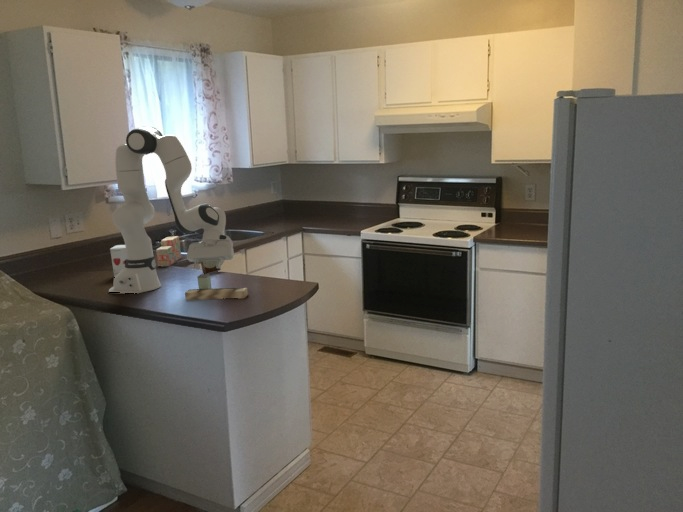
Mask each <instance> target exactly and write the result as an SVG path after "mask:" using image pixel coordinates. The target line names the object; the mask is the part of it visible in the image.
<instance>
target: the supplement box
mask: <svg viewBox="0 0 683 512" xmlns="http://www.w3.org/2000/svg"><path fill="white" fill-rule="evenodd" d="M109 251H110V256H111V264H112V270H113V271H112V272H113V278H114V277H115V276H116V275H117V274H118V273H119V272H120V271H121V270H123V269H124V268H125V264H123V261H125V260H126V259H127V253H126V247H125V244H117V245H116V244H115V245H114V246H113V247H111V248H109Z"/></svg>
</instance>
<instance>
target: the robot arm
mask: <svg viewBox="0 0 683 512" xmlns="http://www.w3.org/2000/svg"><path fill="white" fill-rule="evenodd" d="M125 142H126V143H124V144H120V145H118V146H117V148H116V150H115V159H114V160H115V173H116V183H117V189H118V191H119V192H120V193H121V194H122V196H123V197H122V198H123V199H124V203H123V204H121V205H120V206H118V207H117V208H116V209H115V210H114V211H113V212H112V215H111V219H112V223H113V224H114V226H115V227H116V228H118V230H119V231H120V234H121V236H122V239H123V242H124V245H125V247H126V253H127V259H126V260H125V261H123V264H125V268H124V269H123V270H121V271H120V272H119V273H118V274H117V275H116V276H115V278H114V277H113V283H112V285H113V286H111V287H110V288H109V289H108V293H109V292H120V293H119V294H125V293H134V294H135V293H137V294H140V293H145V292H149V291H153V290H157V289H160V288H161V287H162V283H161V282H160V279H159V276H158V273H157V269H156V268H157V267H156V266H157V265H156V259H155V255H154V252H153V251H154V250H153V245H152V244H153V243H152V239H151V237H150V236H149V235H148V233H147V231H146V229H145V226H144V225H146V224H148V223H149V222H150V221H151V220H152V219H154V217H155V213H156V210H155V207H154V205H153V204H152V203H151V201H150V199H149V195H148V193H147V188H146V184H145V183H146V182H145V176H144V169H143V168H144V167H143V157H144V156H146V155H147V156H148V155H149V154H153V153H154V154H156V155H157V157H159V160H160V162H161V164H162V167H163V168H164V173H165V180H164V185H165V190H166V193H167V197H168V200H169V203H170V206H171V209H172V212H173V216H174V224H175V226H176V228H177V229H178V230H179V231H180V232H181V233H183V234H186V235H190V234H192V233H194V232H195V231H197V230H201V229H202V230H203V234H202V240H201V241H198V242H197V241H196V242H195V241H194V242H192V243H190V244H189V245H188V249H187V253H186V259H187V260H188V262H189V263H194V265H195V266H194V268H195V270H196V271H197V270H200V268H201V265H200V264H199V262H201V261H217V260H220V261H219V263H217V264H216V268H217V269H218V268H222V265H223V264H224V263H225V261H231V260H232V259H233V258H234V253H235V252H234V251H235V250H234V243H233V240H232V239H231V237H230V236H229V235H225V234H224V232H225V230H226V224H227V217H226V212H225V211H224V210H223V209H222V208H220V207H215V206H214V207H212V206H211V205H209V204H207V203H202V204H198V205H195V206H194V207H191V208H189V209H187V207H186V205H185V201H184V198H183V195H182V187H183V185H184V183H185V182H186V181H187V180H188V178H189V177H190V175H191V173H192V169H193V168H192V162H191V160H190V158H189V156H188V154H187V151H186V150H185V148H184V147H183V144H182V143H181V142H180V140H179V139H178V137H176V135H174V134H164V135H163V134H162V132H161V131H160V130H159V129H158V128H155V127H152V126H142V127H136V128H133V129H132V130H130V131H129V132H128V133H127V135H126V137H125ZM134 294H133V295H134ZM135 295H136V294H135Z"/></svg>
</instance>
